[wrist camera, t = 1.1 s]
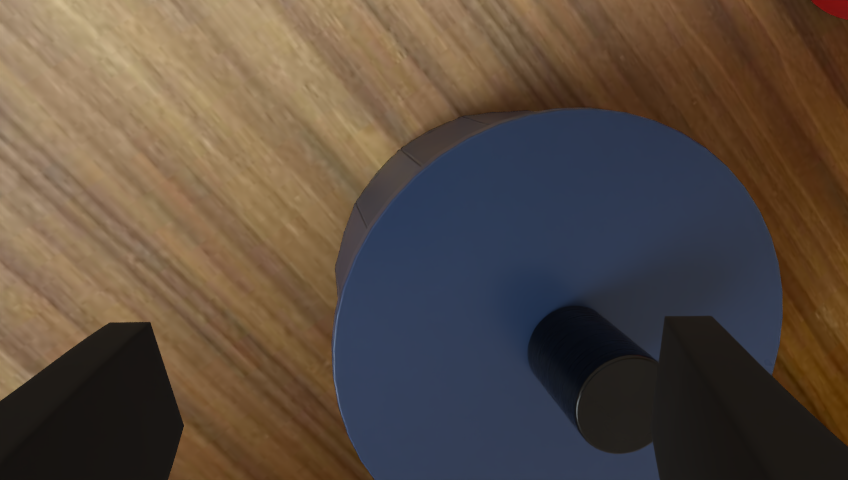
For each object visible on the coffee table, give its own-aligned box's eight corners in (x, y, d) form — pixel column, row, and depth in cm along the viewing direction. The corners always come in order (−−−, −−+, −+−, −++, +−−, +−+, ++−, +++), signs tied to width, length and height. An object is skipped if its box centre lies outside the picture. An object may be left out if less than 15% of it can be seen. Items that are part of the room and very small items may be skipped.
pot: (649, 400, 28) (748, 492, 22) (353, 445, 27) (371, 559, 20) (651, 98, 25) (765, 108, 19) (319, 126, 24) (329, 148, 18)
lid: (750, 493, 23) (859, 595, 19) (353, 563, 21) (369, 696, 17) (768, 87, 20) (905, 94, 15) (305, 127, 18) (309, 147, 14)
